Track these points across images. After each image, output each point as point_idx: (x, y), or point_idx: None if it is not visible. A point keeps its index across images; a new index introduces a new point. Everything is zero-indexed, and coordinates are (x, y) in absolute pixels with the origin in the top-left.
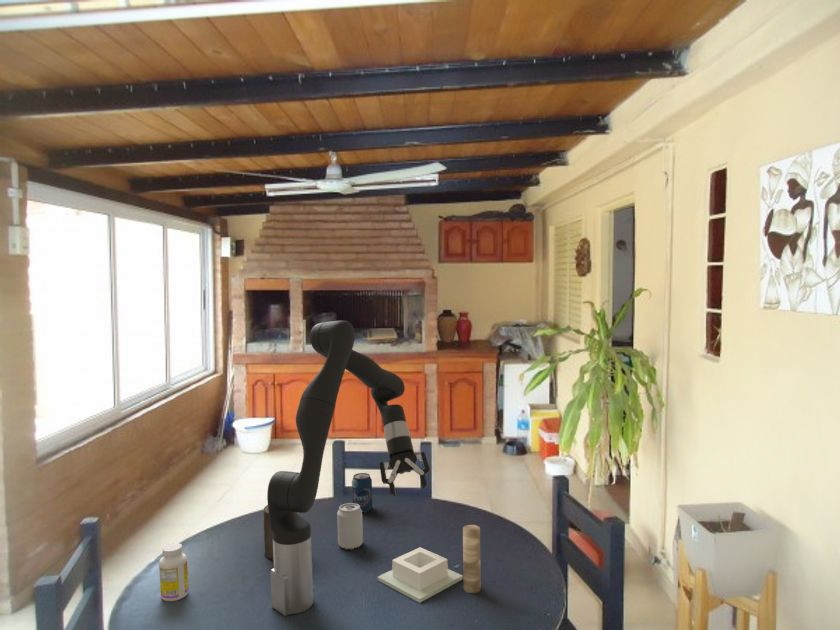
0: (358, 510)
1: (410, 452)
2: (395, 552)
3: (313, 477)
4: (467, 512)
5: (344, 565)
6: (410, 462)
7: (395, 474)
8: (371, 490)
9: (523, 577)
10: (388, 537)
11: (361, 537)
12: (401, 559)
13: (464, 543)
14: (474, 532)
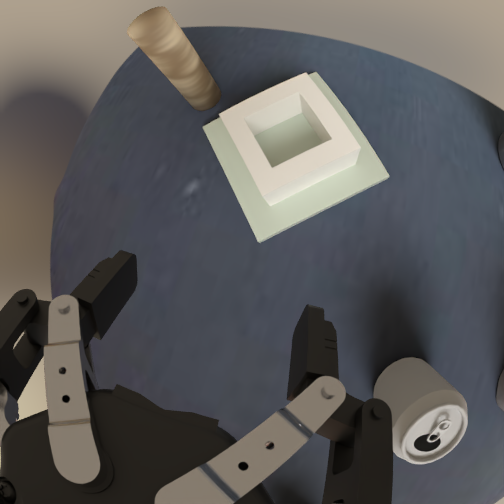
0: (414, 417)
1: (20, 499)
2: None
3: None
4: None
5: (444, 280)
6: (64, 418)
7: (267, 421)
8: None
9: (116, 123)
10: None
11: (387, 377)
12: (335, 142)
13: (182, 31)
14: (153, 9)
